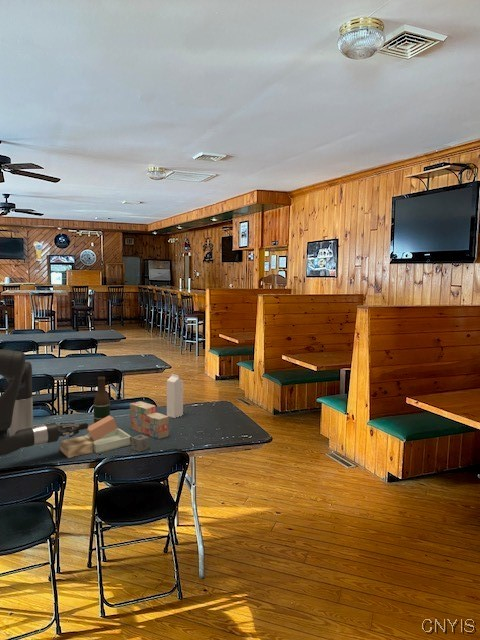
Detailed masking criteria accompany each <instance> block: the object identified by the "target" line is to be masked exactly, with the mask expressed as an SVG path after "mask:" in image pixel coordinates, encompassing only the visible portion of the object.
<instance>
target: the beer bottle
mask: <svg viewBox="0 0 480 640" xmlns="http://www.w3.org/2000/svg"><path fill="white" fill-rule="evenodd" d="M107 416H111V400H110V397H109V395H108V393H107V389H106V377H105V376H98V377H97V393H96V395H95V397H94V400H93V424H94V423H96V422H98V421H100V420H101V419H103V418H105V417H107Z"/></svg>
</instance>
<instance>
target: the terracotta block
mask: <svg viewBox="0 0 480 640" xmlns="http://www.w3.org/2000/svg"><path fill="white" fill-rule="evenodd" d="M117 428H118V425H117V422H116V420H115V418H114V417H113V416H111V415H110V416H107V417H105V418H103V419H101V420H100V421H98V422H96V423H94V422H93V423H92V424H91V425H88V429H85V430H86V432H87V435H89V437H90V438H91V439H92V440H93V441H96V440H98V439H99V438H101V437H103V436H105V435H106V434H108V433H110V432H112V431H113V430H115V429H117Z"/></svg>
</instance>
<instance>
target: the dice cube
mask: <svg viewBox="0 0 480 640" xmlns="http://www.w3.org/2000/svg"><path fill="white" fill-rule="evenodd" d="M131 449H132V450H134V451H136V452H139V453H140V452H143V451H146V450H148V449H150V436H148V435H145V434H143V433H141V434H138V435H136V436H132V445H131Z"/></svg>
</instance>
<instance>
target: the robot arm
mask: <svg viewBox="0 0 480 640" xmlns="http://www.w3.org/2000/svg"><path fill="white" fill-rule="evenodd" d="M0 376H2V377H3V378H5V380H6V382H7V383H10V384H9V386H8V387H7V389H6V390H5V391H4V392H3V393H2V394H1V395H0V457H1V456H6V455H9V454H12V453H13V452H16V451H19V450H21V449H22V448H23V449H24V448H28V447H33V446H41V445H47V444H51V443H56V442H58V441H59V438H60V437H63V438H64V437H67V436H68V437H69V438H74V437H75V436H76V435H78V434H79V433H80V431H82V430H86V429H88V427H89V424H88V423H87V422H83V423H75V422H60V424H59V425H58V424H57V423H56V422H51V423H45V424H44V423H43V424H39V425H35V426H34V413H33V412H34V407H33V405H34V404H33V401H34V400H33V383H32V382H33V366H32V362H30V361H26V354H25V352H23V351H18V350H10V349H0ZM21 383H24V384H23V385H22V386H21ZM8 432H9V433H8ZM8 434H9V436H8Z"/></svg>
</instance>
